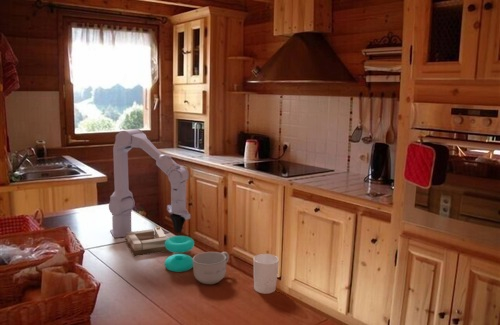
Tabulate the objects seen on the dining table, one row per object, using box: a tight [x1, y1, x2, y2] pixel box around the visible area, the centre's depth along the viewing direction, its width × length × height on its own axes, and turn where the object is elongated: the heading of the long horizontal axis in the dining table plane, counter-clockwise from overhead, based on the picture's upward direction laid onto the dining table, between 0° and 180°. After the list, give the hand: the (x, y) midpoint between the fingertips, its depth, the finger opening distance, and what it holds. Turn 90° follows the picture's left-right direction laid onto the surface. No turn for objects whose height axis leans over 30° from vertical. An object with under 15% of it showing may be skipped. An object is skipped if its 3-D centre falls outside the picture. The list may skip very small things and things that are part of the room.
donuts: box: [164, 235, 195, 273], centre depth 145 cm, size 10×10×10 cm
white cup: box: [252, 253, 280, 295], centre depth 132 cm, size 8×8×10 cm
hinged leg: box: [154, 226, 167, 239], centre depth 166 cm, size 10×2×3 cm, turn 22°
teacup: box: [192, 251, 230, 285], centre depth 138 cm, size 14×11×8 cm
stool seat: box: [125, 228, 170, 257], centre depth 163 cm, size 14×14×4 cm
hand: (178, 232), depth 166 cm, fingers closed
